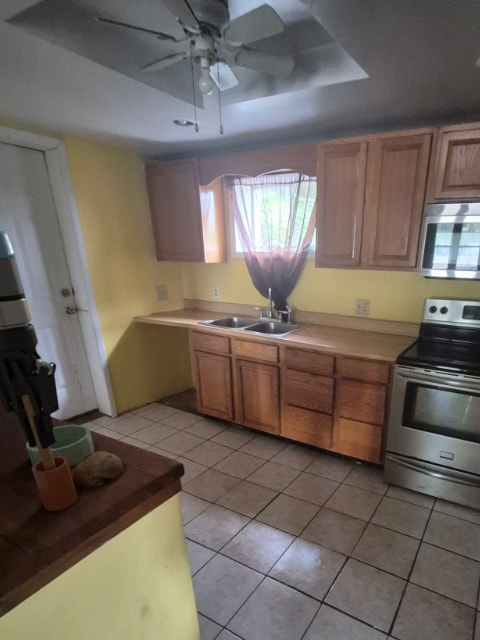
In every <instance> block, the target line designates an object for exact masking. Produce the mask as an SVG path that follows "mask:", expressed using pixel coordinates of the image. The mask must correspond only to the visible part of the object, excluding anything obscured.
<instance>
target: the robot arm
mask: <svg viewBox="0 0 480 640" xmlns="http://www.w3.org/2000/svg"><path fill="white" fill-rule="evenodd" d="M32 320H33V319H32V316H31V312H30V308H29V304H28V301H27V297H26V294H25V288H24V285H23V282H22V277H21V274H20V269H19V266H18V262H17V259H16V252H15V250H13V247H12V244H11V240H10V237H9V234H8V232H7V231H6V230H5V229H4V228H2V227H0V403H1V405H2V407H3V409H4V411H5V412H6V413H13V414H14V415H15V416H16V417H17V419H18V421H19V424H20V428H21V430H22V431H24V434H25V437H26V440H27V441H28V444H29V447H31V448H33V447H35V446H37V445H36V442H35V438H34V435H33V432H32V429H31V426H30V422H29V419H28V416H27V413H26V410H25V406H24V403H23V400H22V396H24V395H28V397H29V400H30V402H31V405H32V407H33V410H34V412H35V416H33V421H34V425H35V428H36V431H37V434H38V438H39V441H40V444H41V447H42V449H46V448H48V447H49V446H51V445H52V444H54V443H55V442H56V440H55V437H54V433H53V429H54V428H55V426H54V423H53V422H54V421H53V418H52V414H54V413H56V412H58V411H59V410H60V406H59V405H60V404H59V397H58V389H57V383H56V382H57V381H56V376H55V375H56V371H57V364H56V363H55V362H54V361H51V362H47V361H45V360H43V359H42V357H41V355H40V353H39V352H38V350H37V345H38V344H39V340H38V336H37V333H36V328H35V325H33V324H32V323H30V322H31V321H32ZM27 441H26V442H27Z"/></svg>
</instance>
